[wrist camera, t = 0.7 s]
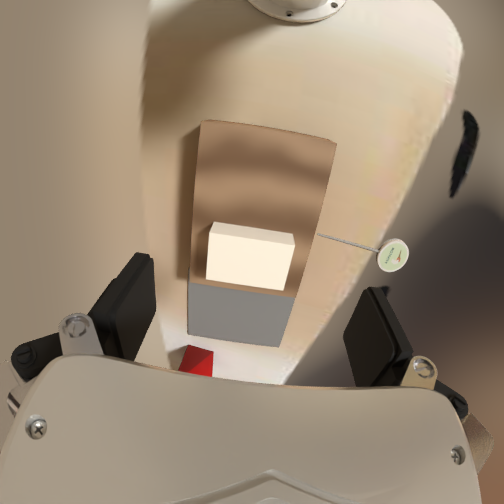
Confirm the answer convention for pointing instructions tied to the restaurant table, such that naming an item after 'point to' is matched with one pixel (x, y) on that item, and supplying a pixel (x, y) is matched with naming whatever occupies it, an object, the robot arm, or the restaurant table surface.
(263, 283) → the cream rectangular block
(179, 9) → the restaurant table surface
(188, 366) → the french fries
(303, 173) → the board
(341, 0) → the robot arm
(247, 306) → the mat
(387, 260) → the sign
